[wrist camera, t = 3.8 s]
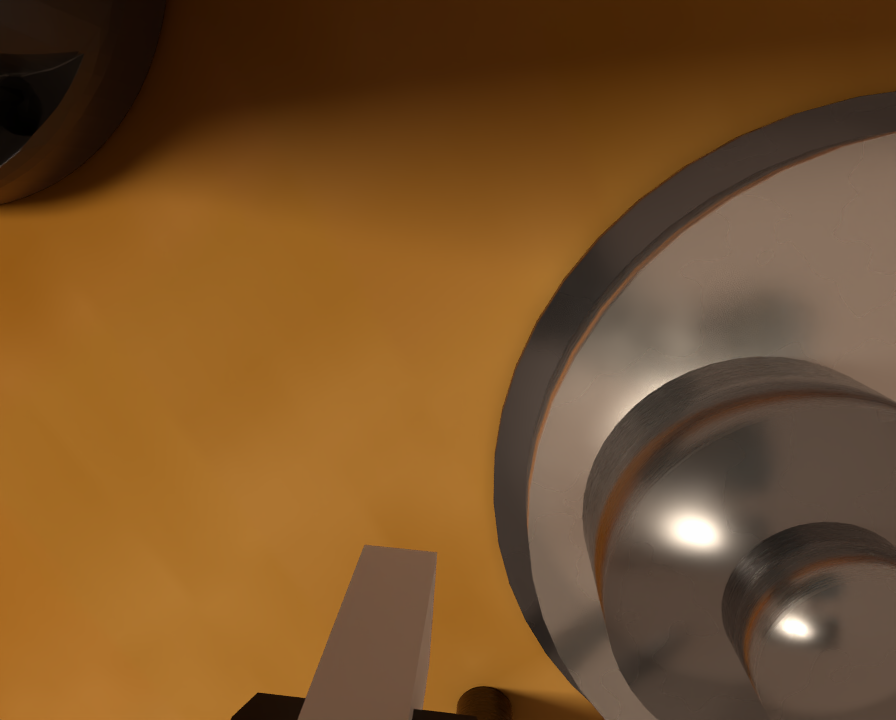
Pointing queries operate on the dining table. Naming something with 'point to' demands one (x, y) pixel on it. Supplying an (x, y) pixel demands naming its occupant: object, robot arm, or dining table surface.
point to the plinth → (599, 273)
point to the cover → (750, 544)
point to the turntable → (710, 348)
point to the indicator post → (485, 704)
